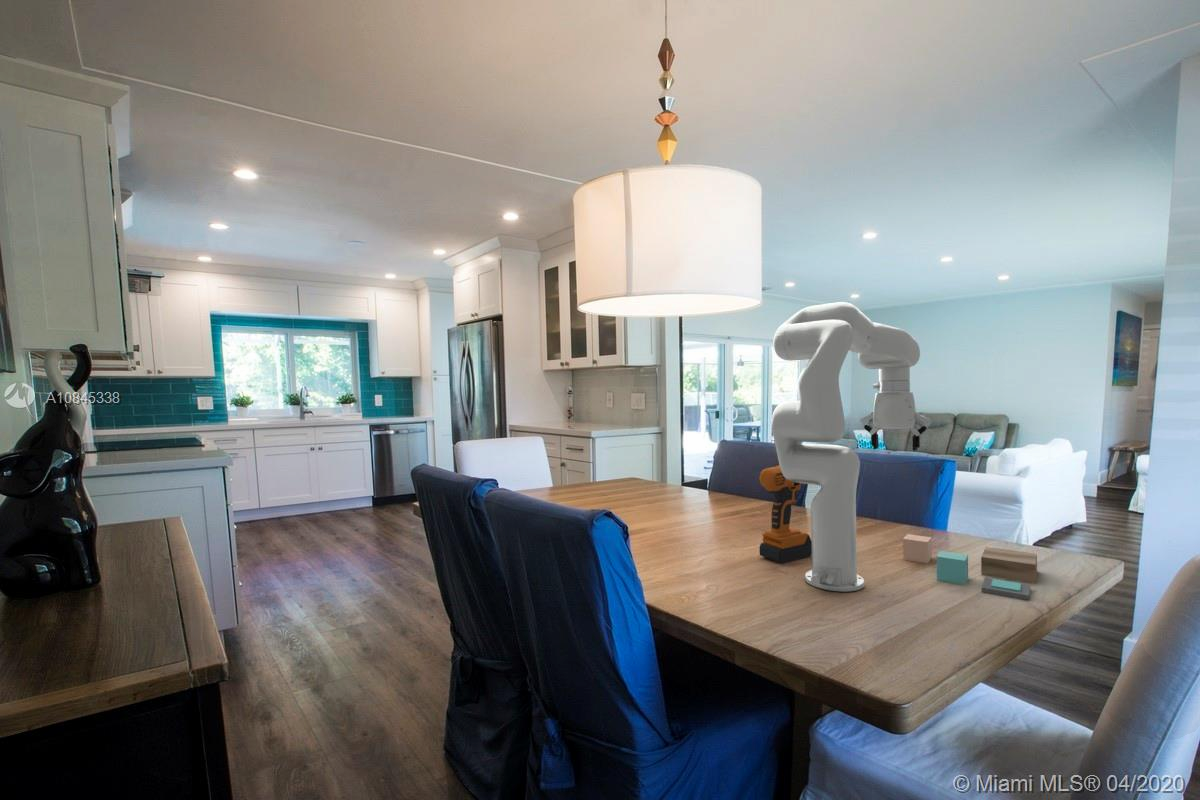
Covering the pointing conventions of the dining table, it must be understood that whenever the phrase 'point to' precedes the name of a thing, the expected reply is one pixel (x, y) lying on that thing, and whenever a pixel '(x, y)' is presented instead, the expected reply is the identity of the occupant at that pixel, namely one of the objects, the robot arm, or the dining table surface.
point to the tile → (1006, 588)
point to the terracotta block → (917, 548)
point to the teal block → (952, 567)
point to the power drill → (782, 520)
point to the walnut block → (1009, 564)
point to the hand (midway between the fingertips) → (895, 449)
